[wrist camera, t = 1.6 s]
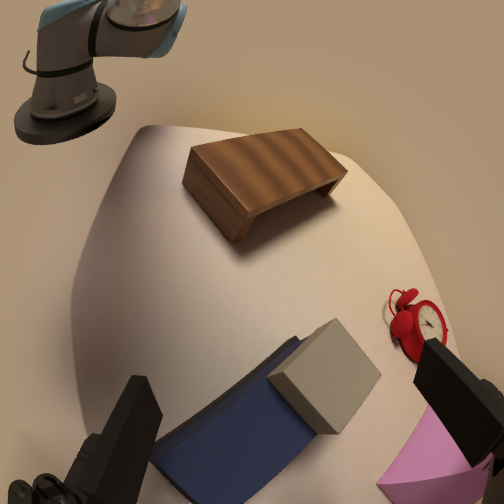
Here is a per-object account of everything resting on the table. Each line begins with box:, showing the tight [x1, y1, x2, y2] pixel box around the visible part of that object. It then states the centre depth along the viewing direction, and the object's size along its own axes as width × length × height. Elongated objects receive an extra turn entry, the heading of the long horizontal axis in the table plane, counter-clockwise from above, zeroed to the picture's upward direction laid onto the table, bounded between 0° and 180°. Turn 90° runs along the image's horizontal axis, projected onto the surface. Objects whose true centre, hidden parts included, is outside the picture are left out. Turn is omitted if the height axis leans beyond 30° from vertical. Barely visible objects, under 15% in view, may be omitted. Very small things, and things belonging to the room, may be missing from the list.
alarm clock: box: [389, 288, 448, 362], centre depth 36 cm, size 10×6×15 cm
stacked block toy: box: [149, 318, 381, 504], centre depth 19 cm, size 20×8×10 cm, turn 131°
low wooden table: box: [182, 128, 348, 245], centre depth 40 cm, size 24×12×6 cm, turn 131°
